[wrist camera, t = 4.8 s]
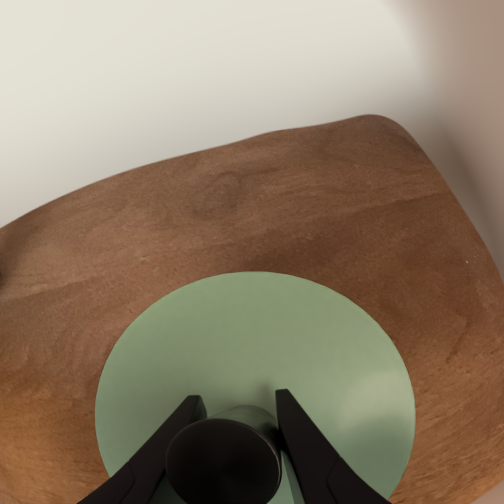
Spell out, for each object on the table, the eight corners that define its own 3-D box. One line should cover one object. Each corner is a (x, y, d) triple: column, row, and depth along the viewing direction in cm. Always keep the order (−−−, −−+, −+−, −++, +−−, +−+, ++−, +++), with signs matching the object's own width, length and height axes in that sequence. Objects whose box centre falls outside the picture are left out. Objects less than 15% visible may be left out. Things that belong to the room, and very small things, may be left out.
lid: (415, 514, 7) (485, 562, 1) (135, 544, 7) (65, 592, 2) (368, 257, 13) (416, 168, 7) (102, 301, 13) (19, 243, 7)
